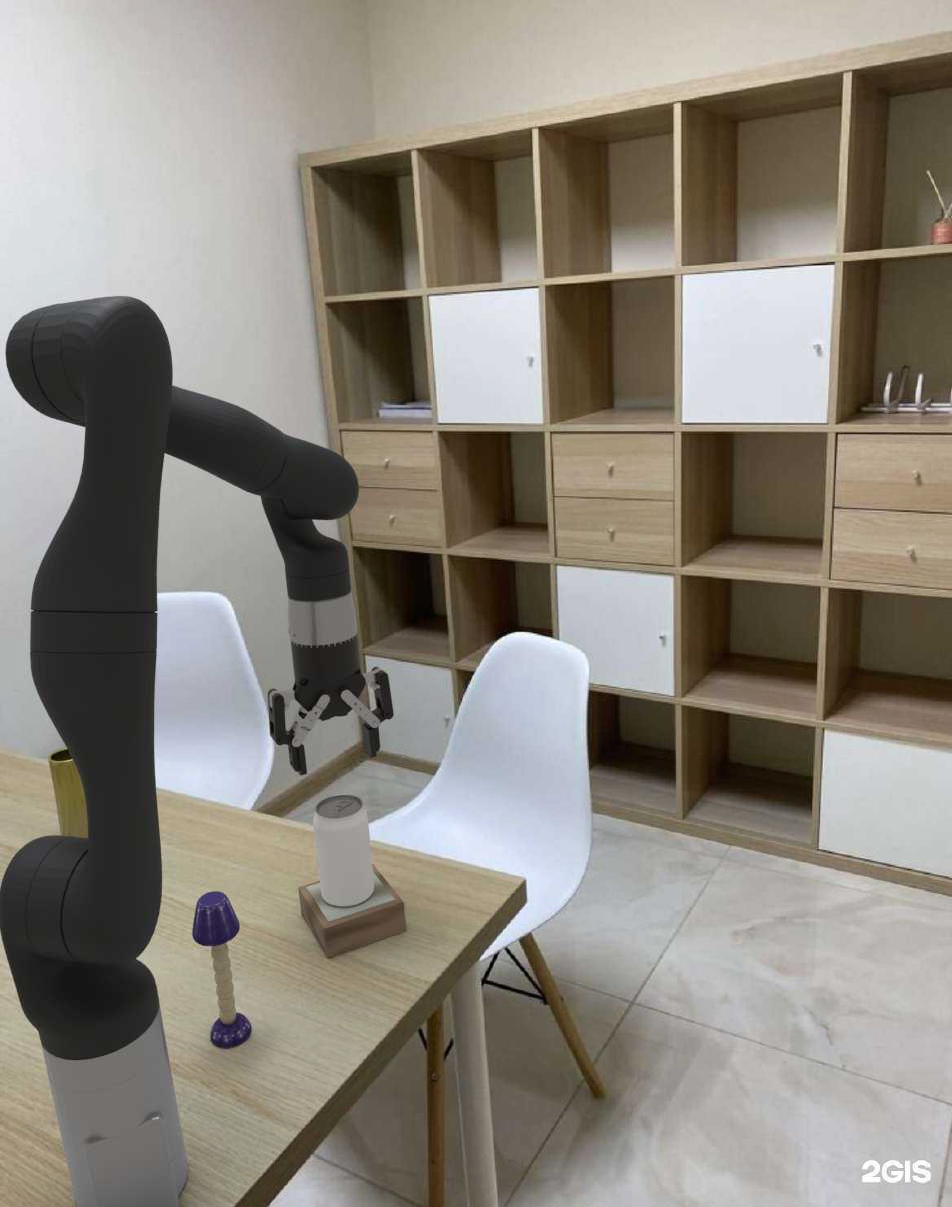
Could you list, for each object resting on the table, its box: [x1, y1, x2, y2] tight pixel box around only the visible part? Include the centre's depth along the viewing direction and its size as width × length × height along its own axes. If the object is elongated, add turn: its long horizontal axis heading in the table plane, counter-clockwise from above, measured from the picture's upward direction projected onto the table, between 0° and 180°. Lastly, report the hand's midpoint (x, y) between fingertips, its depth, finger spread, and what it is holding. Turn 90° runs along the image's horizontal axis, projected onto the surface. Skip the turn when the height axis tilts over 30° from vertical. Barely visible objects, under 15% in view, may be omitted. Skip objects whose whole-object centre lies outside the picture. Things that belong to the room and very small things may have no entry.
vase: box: [48, 747, 88, 838], centre depth 140 cm, size 6×6×14 cm
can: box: [312, 793, 374, 907], centre depth 116 cm, size 6×6×12 cm
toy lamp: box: [191, 890, 253, 1049], centre depth 98 cm, size 5×5×17 cm
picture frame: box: [297, 863, 407, 959], centre depth 118 cm, size 10×10×4 cm
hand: (336, 763), depth 113 cm, fingers open, 8 cm apart
